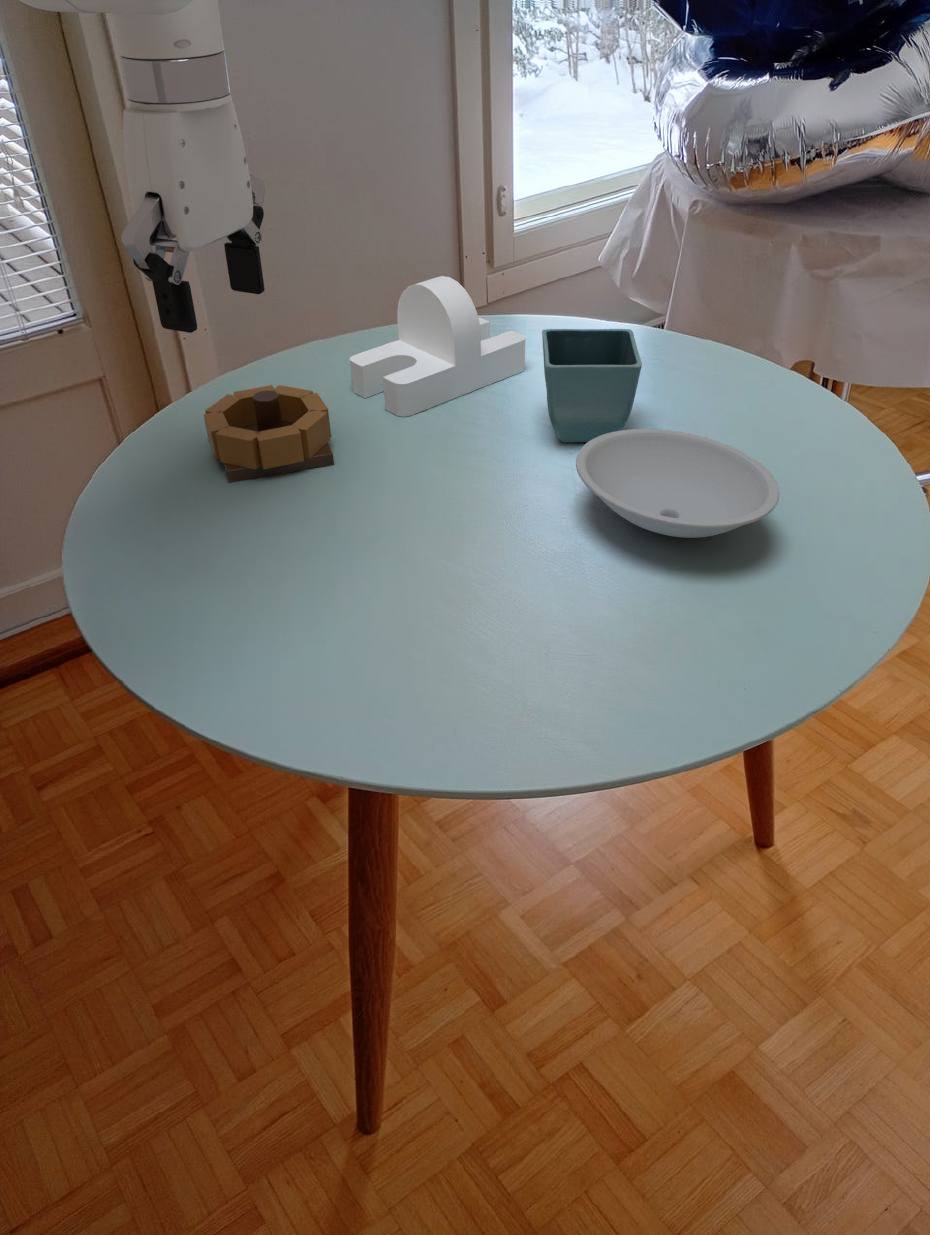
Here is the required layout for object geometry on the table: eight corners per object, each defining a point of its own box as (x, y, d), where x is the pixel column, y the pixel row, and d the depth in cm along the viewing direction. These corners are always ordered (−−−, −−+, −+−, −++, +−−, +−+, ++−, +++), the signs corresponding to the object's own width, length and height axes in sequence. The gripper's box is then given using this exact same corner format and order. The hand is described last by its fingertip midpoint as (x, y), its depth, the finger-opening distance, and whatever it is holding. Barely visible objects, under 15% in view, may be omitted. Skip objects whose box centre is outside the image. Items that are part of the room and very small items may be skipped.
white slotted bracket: (529, 368, 110) (531, 272, 103) (402, 418, 101) (396, 316, 94) (472, 344, 116) (471, 251, 109) (348, 389, 107) (338, 291, 100)
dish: (535, 517, 86) (537, 466, 82) (640, 460, 93) (644, 411, 90) (703, 603, 75) (712, 549, 72) (805, 531, 83) (816, 479, 80)
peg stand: (228, 482, 91) (218, 427, 88) (216, 435, 99) (206, 382, 95) (334, 464, 94) (328, 409, 90) (314, 419, 101) (308, 367, 98)
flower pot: (634, 453, 94) (643, 364, 89) (542, 453, 94) (545, 365, 89) (624, 412, 101) (632, 327, 96) (538, 412, 101) (541, 328, 96)
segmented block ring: (223, 478, 90) (218, 448, 88) (201, 426, 98) (196, 398, 96) (342, 453, 93) (338, 424, 91) (311, 405, 101) (307, 378, 99)
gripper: (204, 62, 80) (236, 273, 90) (54, 98, 68) (111, 339, 78) (283, 66, 78) (307, 283, 88) (142, 105, 65) (189, 353, 75)
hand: (215, 309), depth 83 cm, fingers open, 9 cm apart
